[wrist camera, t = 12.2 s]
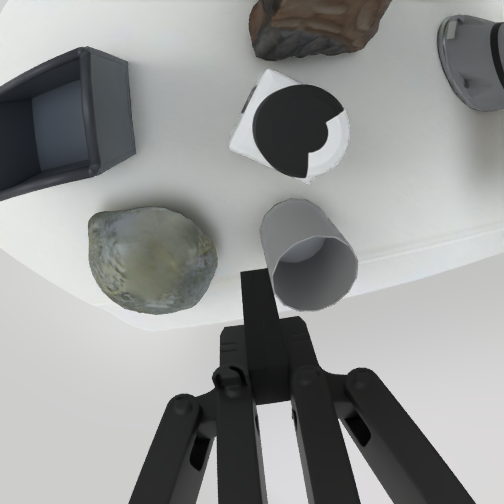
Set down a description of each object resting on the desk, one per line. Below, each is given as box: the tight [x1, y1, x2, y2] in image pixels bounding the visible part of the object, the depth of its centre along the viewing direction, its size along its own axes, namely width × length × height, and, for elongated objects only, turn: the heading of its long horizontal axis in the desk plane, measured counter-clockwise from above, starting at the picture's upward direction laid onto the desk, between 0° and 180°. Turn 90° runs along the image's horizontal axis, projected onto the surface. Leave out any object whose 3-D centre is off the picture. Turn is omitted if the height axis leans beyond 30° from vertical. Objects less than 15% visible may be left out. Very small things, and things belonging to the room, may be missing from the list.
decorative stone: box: [88, 207, 217, 315], centre depth 31 cm, size 14×15×10 cm
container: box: [229, 69, 350, 184], centre depth 22 cm, size 8×8×13 cm
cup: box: [260, 199, 358, 312], centre depth 30 cm, size 8×8×10 cm
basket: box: [0, 46, 136, 201], centre depth 20 cm, size 15×11×11 cm
